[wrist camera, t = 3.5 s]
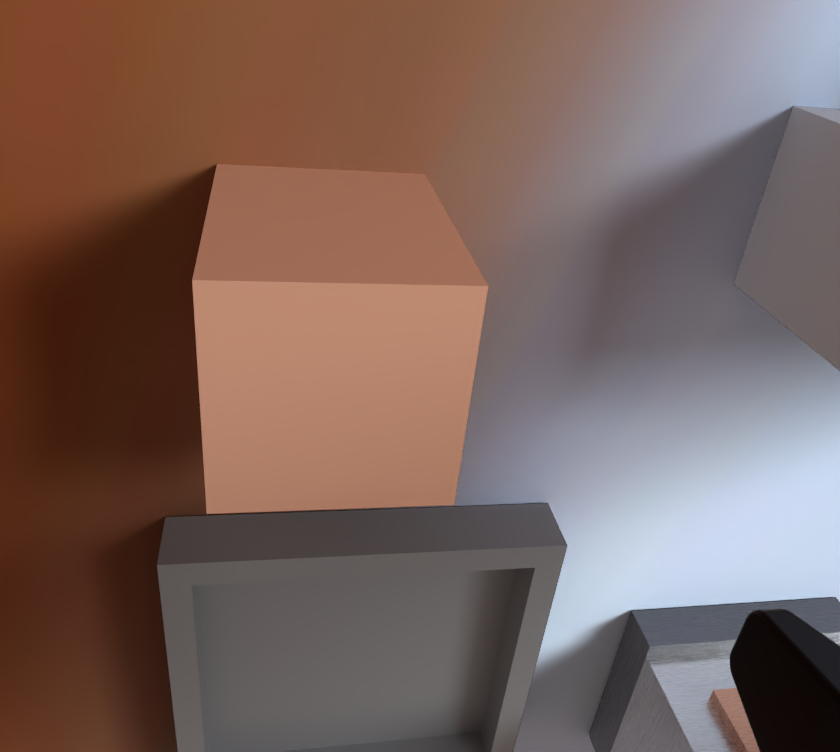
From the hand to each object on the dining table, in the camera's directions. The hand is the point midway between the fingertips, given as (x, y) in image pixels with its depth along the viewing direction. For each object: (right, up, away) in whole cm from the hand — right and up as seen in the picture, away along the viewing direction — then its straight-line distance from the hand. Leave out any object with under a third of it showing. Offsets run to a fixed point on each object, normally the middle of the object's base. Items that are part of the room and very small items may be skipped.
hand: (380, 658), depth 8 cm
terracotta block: (-2, +6, +9) cm, 11 cm away
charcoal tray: (-2, -5, +16) cm, 17 cm away
